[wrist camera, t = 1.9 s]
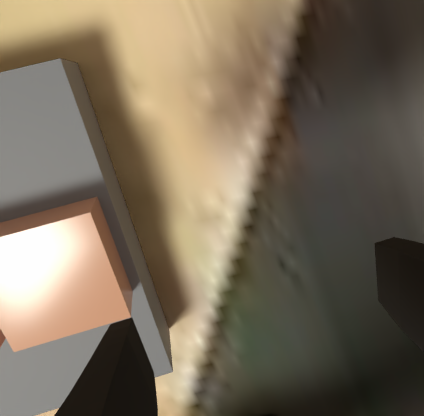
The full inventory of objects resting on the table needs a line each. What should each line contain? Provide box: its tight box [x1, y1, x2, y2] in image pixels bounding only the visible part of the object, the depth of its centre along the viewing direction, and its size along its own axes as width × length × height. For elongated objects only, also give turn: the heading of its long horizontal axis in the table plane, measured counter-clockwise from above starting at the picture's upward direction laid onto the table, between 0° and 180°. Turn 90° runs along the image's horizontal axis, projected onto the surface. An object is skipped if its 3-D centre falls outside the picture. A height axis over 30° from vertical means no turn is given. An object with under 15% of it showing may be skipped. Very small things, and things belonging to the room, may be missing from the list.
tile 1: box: [0, 197, 133, 352], centre depth 15 cm, size 5×5×2 cm
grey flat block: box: [0, 58, 173, 416], centre depth 17 cm, size 12×16×4 cm
